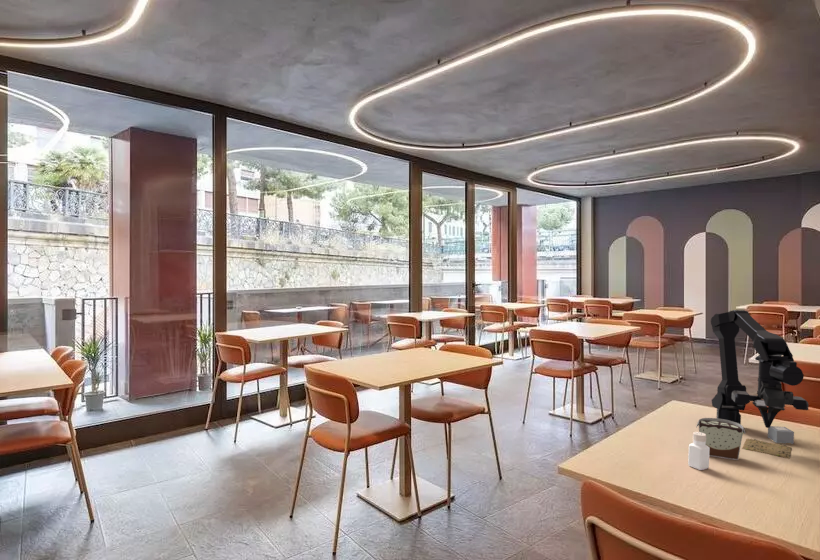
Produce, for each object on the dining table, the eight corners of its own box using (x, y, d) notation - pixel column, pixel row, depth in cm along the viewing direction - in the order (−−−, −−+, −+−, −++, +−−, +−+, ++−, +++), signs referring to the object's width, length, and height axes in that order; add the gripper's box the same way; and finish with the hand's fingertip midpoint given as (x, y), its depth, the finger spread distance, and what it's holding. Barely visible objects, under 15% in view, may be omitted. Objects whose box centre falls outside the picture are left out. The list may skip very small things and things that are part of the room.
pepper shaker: (700, 471, 137) (702, 437, 137) (687, 465, 141) (688, 432, 140) (709, 468, 139) (711, 434, 138) (695, 463, 142) (697, 430, 142)
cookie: (745, 439, 164) (745, 436, 164) (792, 448, 156) (792, 445, 156) (740, 450, 155) (741, 447, 155) (790, 460, 147) (790, 457, 147)
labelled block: (776, 443, 160) (776, 430, 160) (767, 437, 165) (768, 425, 165) (793, 444, 159) (794, 431, 159) (784, 438, 164) (784, 426, 164)
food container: (740, 454, 150) (741, 421, 150) (744, 461, 145) (745, 427, 144) (693, 447, 155) (694, 415, 155) (695, 453, 150) (696, 420, 149)
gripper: (740, 380, 151) (737, 431, 151) (816, 386, 144) (813, 440, 144) (732, 372, 161) (730, 420, 162) (803, 378, 154) (800, 428, 154)
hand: (767, 427), depth 155 cm, fingers closed
